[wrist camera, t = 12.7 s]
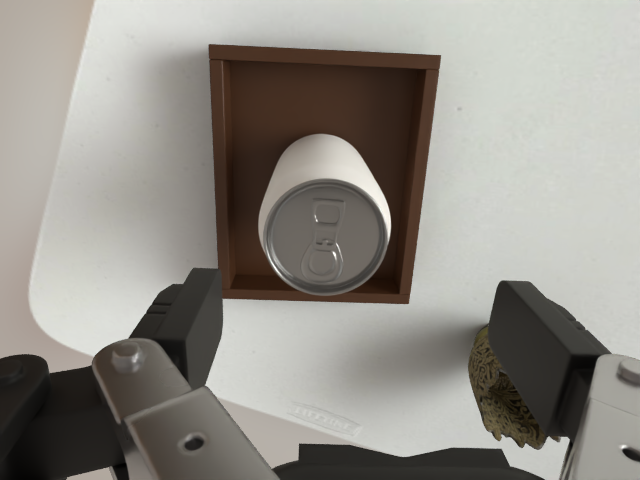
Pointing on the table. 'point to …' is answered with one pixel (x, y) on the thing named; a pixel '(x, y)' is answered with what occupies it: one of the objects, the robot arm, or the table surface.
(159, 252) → the table surface
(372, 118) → the tray
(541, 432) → the cup
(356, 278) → the can
